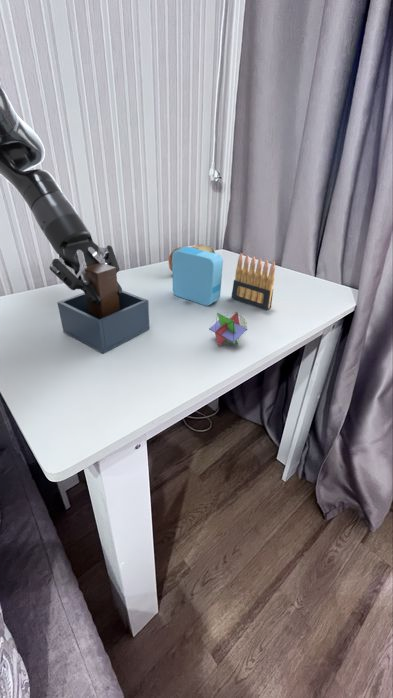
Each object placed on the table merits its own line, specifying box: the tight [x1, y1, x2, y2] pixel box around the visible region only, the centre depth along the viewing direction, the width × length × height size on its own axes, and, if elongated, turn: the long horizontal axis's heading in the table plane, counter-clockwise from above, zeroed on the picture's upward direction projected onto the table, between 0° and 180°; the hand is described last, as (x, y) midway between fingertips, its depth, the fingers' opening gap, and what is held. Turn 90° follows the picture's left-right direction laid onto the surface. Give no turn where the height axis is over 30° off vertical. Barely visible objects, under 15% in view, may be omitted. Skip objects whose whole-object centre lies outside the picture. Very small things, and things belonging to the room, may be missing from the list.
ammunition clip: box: [230, 252, 276, 311], centre depth 81 cm, size 11×2×12 cm, turn 52°
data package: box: [172, 246, 224, 307], centre depth 83 cm, size 12×4×12 cm, turn 55°
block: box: [84, 263, 120, 320], centre depth 65 cm, size 4×4×10 cm
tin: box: [168, 244, 216, 273], centre depth 99 cm, size 15×3×8 cm, turn 119°
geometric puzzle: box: [208, 310, 249, 348], centre depth 66 cm, size 7×7×8 cm
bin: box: [56, 289, 150, 354], centre depth 68 cm, size 13×13×7 cm
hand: (109, 299), depth 65 cm, fingers closed on block, 4 cm apart
